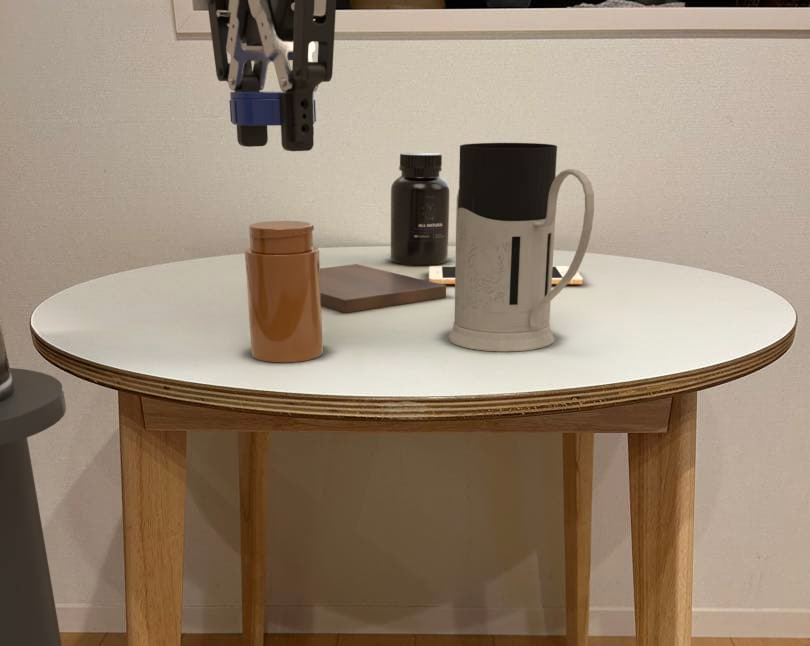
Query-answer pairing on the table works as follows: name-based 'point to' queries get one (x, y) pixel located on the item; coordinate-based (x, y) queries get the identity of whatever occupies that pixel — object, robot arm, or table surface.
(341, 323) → the table surface
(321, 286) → the serving board
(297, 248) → the jar
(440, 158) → the supplement bottle
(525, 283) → the glass holder
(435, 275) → the cell phone
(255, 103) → the jar lid
